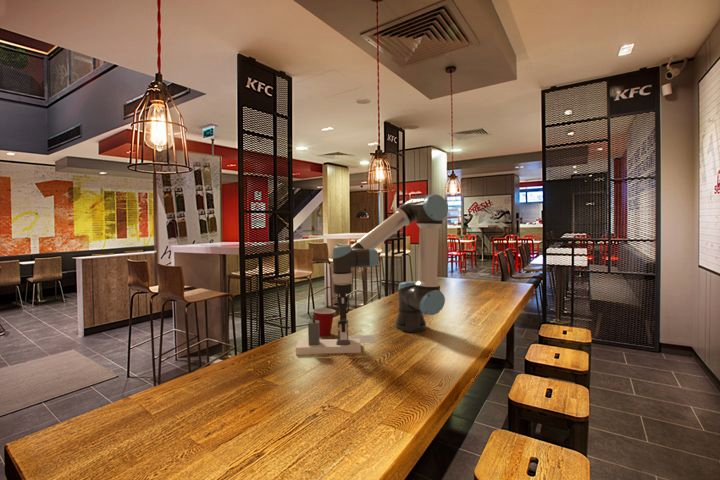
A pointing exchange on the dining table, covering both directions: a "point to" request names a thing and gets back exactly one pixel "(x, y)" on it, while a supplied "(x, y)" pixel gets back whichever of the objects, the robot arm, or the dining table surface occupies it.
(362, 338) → the white flat slab
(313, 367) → the dining table surface
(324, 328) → the plastic cup
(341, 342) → the plug
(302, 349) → the socket stand
